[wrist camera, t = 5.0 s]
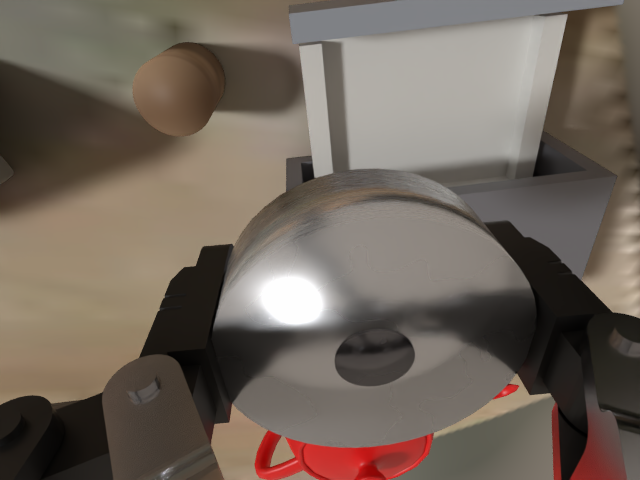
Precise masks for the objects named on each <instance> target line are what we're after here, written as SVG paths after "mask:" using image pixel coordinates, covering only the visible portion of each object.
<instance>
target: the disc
mask: <svg viewBox="0 0 640 480" xmlns="http://www.w3.org/2000/svg"><path fill="white" fill-rule="evenodd" d="M536 318H537V311H536V305H535V298H534V295H533V292H532V290H531V287H530V284H529V282H528V280H527V279H526V277H525V275H524V274H523V272H522V271H521V269H520V268H519V266H518V265H517V264H516V263H515V261H514V260H513V259H512V258H511V256H510V255H509V254H508V253H507V251H506V250H505V249H504V248H503V246H502V245H501V244H500V243H499V242H498V240H497V239H496V238H495V237H494V235H493V234H492V233H491V232H490V230H489V229H488V228H487V227H486V225H485V224H484V223H483V222H482V220H481V219H480V218H479V217H478V215H477V214H476V213H475V212H474V211H473V210H472V209H471V207H470V206H469V205H468V204H467V203H466V202H465V201H464V200H463V199H461V198H460V197H459V196H458V195H456V194H455V193H454V192H453V191H451V190H450V189H448V188H446V187H444V186H442V185H441V184H439V183H437V182H435V181H433V180H430V179H427V178H425V177H422V176H420V175H416V174H412V173H408V172H403V171H399V170H389V169H379V168H377V169H354V170H348V171H341V172H335V173H332V174H328V175H325V176H321V177H317V178H315V179H312V180H310V181H307V182H305V183H302V184H300V185H298V186H296V187H294V188H292V189H290V190H289V191H287V192H285V193H283V194H282V195H280V196H279V197H277V198H276V199H275V200H273V201H272V202H271V203H269V204H268V205H267V206H265V207H264V208H263V209H262V210H261V211H260V212H259V213H258V214H257V215H256V216H255V217H254V218H253V219H252V220H251V221H250V222H249V224H248V225H247V226H246V228H245V229H244V230H243V232H242V233H241V235H240V236H239V238H238V240H237V242H236V244H235V246H234V247H233V250H232V253H231V256H230V258H229V261H228V265H227V269H226V274H225V278H224V282H223V287H222V291H221V295H220V300H219V304H218V309H217V313H216V317H215V322H214V326H213V332H212V338H211V340H212V343H213V347H214V350H215V353H216V356H217V360H218V363H219V366H220V369H221V373H222V376H223V379H224V382H225V386H226V389H227V392H228V395H229V399H230V401H231V402H232V404H233V405H234V406H235V407H236V408H237V409H238V410H239V411H240V412H242V413H243V414H244V415H245V416H246V417H248V418H249V419H250V420H252V421H254V422H255V423H257V424H258V425H260V426H261V427H263V428H265V429H267V430H269V431H271V432H274V433H276V434H278V435H281V436H284V437H286V438H289V439H292V440H296V441H300V442H304V443H308V444H314V445H320V446H328V447H339V448H360V447H375V446H382V445H390V444H395V443H400V442H404V441H409V440H412V439H416V438H419V437H423V436H426V435H429V434H431V433H434V432H437V431H439V430H442V429H444V428H446V427H448V426H451V425H453V424H455V423H457V422H459V421H461V420H462V419H464V418H466V417H468V416H469V415H471V414H473V413H474V412H476V411H477V410H479V409H480V408H482V407H483V406H484V405H486V404H487V403H488V402H489V401H491V400H492V399H493V398H494V397H495V396H497V395H498V394H499V393H500V392H501V391H502V390H503V389H504V388H505V387H506V386H507V385H508V384H509V383H510V381H511V380H512V379H513V377H514V376H515V375H516V374H517V372H518V371H519V369H520V368H521V366H522V364H523V363H524V361H525V359H526V358H527V354H528V351H529V348H530V345H531V342H532V339H533V336H534V332H535V329H536Z"/></svg>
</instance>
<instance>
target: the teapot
mask: <svg viewBox="0 0 640 480" xmlns="http://www.w3.org/2000/svg"><path fill="white" fill-rule="evenodd" d="M518 387H519V386H518V385H513V384H508V385H507V386H506V387H505V388H504V389H503V390H502V391H501V392H500V393H499V394H498V395H497V396H495V397H494V398H493V399H496V398H500V397H504V396H507V395H509V394H511V393H513V392H515V391H516V390H517V389H518ZM433 434H434V433H431V434H429V435H426V436H423V437H419V438H416V439H412V440H409V441H404V442H400V443H395V444H390V445H382V446H375V447H360V448H339V447H328V446H320V445H314V444H308V443H304V442H300V441H296V440H292V439H289V438H286V437H285V438H286V439H287V442H288V444H289V446H290V448H291V450H292V452H293V453H294V455H295V458H293V459H290V460H288V461H286V462H284V463H281V464H278V465H275V466H273V467H270V463H271V458H272V455H273V452H274V450H275V447H276V445H277V443H278V441H279V440H280V438H281V435H278V434H276V433H274V432H271V431H269V430H268V432H267V433H266V435H265V436H264V438H263V440H262V442H261V444H260V447H259V449H258V451H257V455H256V460H255V469H256V473H257V475H258V476H259V478H262V479H267V480H278V479H281V478H285V477H288V476H291V475H293V474H295V473H298V472H300V471H303V470H304V471H305V472H307V473H308V474H309V475H311V476H313V477H315V478H316V479H319V480H388V479H392V478H395V477H398V476H400V475H402V474H403V473H405V472H407V471H409V470H411V469H413V468H415V467H416V466H418V464H420V462H421V461H422V460H423V459H424V458H425V457H426V456H427V455H428V454H429V451H430V448H431V444H432V440H433Z"/></svg>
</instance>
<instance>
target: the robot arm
mask: <svg viewBox="0 0 640 480" xmlns="http://www.w3.org/2000/svg"><path fill="white" fill-rule="evenodd" d="M483 223H484V224H485V225H486V227H487V228H488V229H489V230H490V232H491V233H492V234H493V235H494V237H495V238H496V239H497V240H498V242H499V243H500V244H501V245H502V246H503V248H504V249H505V250H506V251H507V253H508V254H509V255H510V256H511V258H512V259H513V260H514V261H515V263H516V264H517V265H518V266H519V268H520V269H521V271H522V272H523V274H524V275H525V277H526V279H527V280H528V282H529V284H530V287H531V290H532V292H533V295H534V298H535V305H536V311H537V318H536V329H535V332H534V336H533V339H532V342H531V345H530V348H529V351H528V354H527V358H526V359H525V361H524V363H523V364H522V366H521V368H520V369H519V371H518V372H517V374H518V376H519V377H520V379H521V381H522V382H523V384H524V386H525V388H526V389H527V391H528V393H529V395H535V394H546V393H550V394H551V395H552V397H553V398H554V400H555V405H554V407H553V410H552V436H553V437H552V440H553V470H554V480H640V318H637V317H634V316H631V315H627V314H621V313H613V312H612V311H611V310H610V309H609V308H608V307H607V306H606V305H605V304H604V303H603V302H602V301H601V300H600V299H599V298H598V297H597V296H596V295H595V294H594V293H593V292H592V291H591V290H590V289H589V288H588V287H587V286H586V285H585V284H584V283H583V282H582V281H581V280H580V279H579V278H578V277H577V276H576V275H575V274H572V271H571V270H570V269H569V268H568V267H567V266H566V265H565V263H562V262H561V259H560V258H559V257H558V256H557V255H556V254H555V253H554V252H553V251H552V250H551V249H550V248H549V247H547V246H545V245H543V244H542V243H540V242H538V241H536V240H534V239H533V238H531V237H524V236H523V235H522V234H521V233H520V232H519V231H518V230H517V229H516V228H515V226H514V225H513V224H512V223H511V222H510V221H508V220H502V221H491V222H483ZM233 247H234V246H233V245H232V244H226V245H215V246H204V247H203V248H202V249H201V252H200V255H199V258H198V261H197V264H196V266H194V267H184V268H183V269H182V270H181V271H180V272H179V273H178V274H177V275H176V276H175V277H174V278H173V279H172V280H171V281H170V283H169V286H168V288H167V291H166V293H165V298H164V299H163V301H162V303H161V305H160V311H158V313H157V315H156V318H155V320H154V323H153V325H152V327H151V330H150V332H149V335H148V337H147V340H146V342H145V344H144V347H143V349H142V352H141V354H140V357H139V358H138V359H136V360H134V361H132V362H130V363H128V364H127V365H125V366H123V367H122V368H121V369H120V370H118V371H117V372H116V373H115V374H114V375H113V376H112V378H111V379H110V380H109V381H108V383H107V385H106V386H105V389H104V391H103V392H102V393H100V394H98V395H95V396H93V397H90V398H87V399H84V400H82V401H79V402H76V403H73V404H70V405H67V406H65V407H62V408H59V409H56V410H55V409H54V408H53V406H52V405H51V403H50V402H49V401H48V400H47V399H45V398H44V397H41V396H33V395H32V396H24V397H19V398H16V399H13V400H10V401H8V402H6V403H3V404H1V405H0V480H224V478H223V476H222V473H221V470H220V468H219V465H218V463H217V460H216V457H215V455H214V452H213V449H212V447H211V439H212V434H213V428H214V424H218V423H228V422H229V421H230V414H231V407H232V402H231V401H230V399H229V395H228V392H227V389H226V386H225V382H224V379H223V376H222V373H221V369H220V366H219V363H218V360H217V356H216V353H215V350H214V347H213V343H212V340H211V338H212V332H213V326H214V322H215V317H216V313H217V309H218V304H219V300H220V295H221V291H222V287H223V282H224V278H225V274H226V269H227V265H228V261H229V258H230V256H231V253H232V250H233Z"/></svg>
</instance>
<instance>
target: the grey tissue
mask: <svg viewBox="0 0 640 480" xmlns="http://www.w3.org/2000/svg"><path fill="white" fill-rule="evenodd" d="M13 175H14V171H13V169H12V168H11V167H10V166H9V164H8V163H7V162H6V161H5V160H4V159H3V157H2V156H1V155H0V185H1V184H2V183H4V182H5V181H6V180H8V179H9V178H10V177H12V176H13Z"/></svg>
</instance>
